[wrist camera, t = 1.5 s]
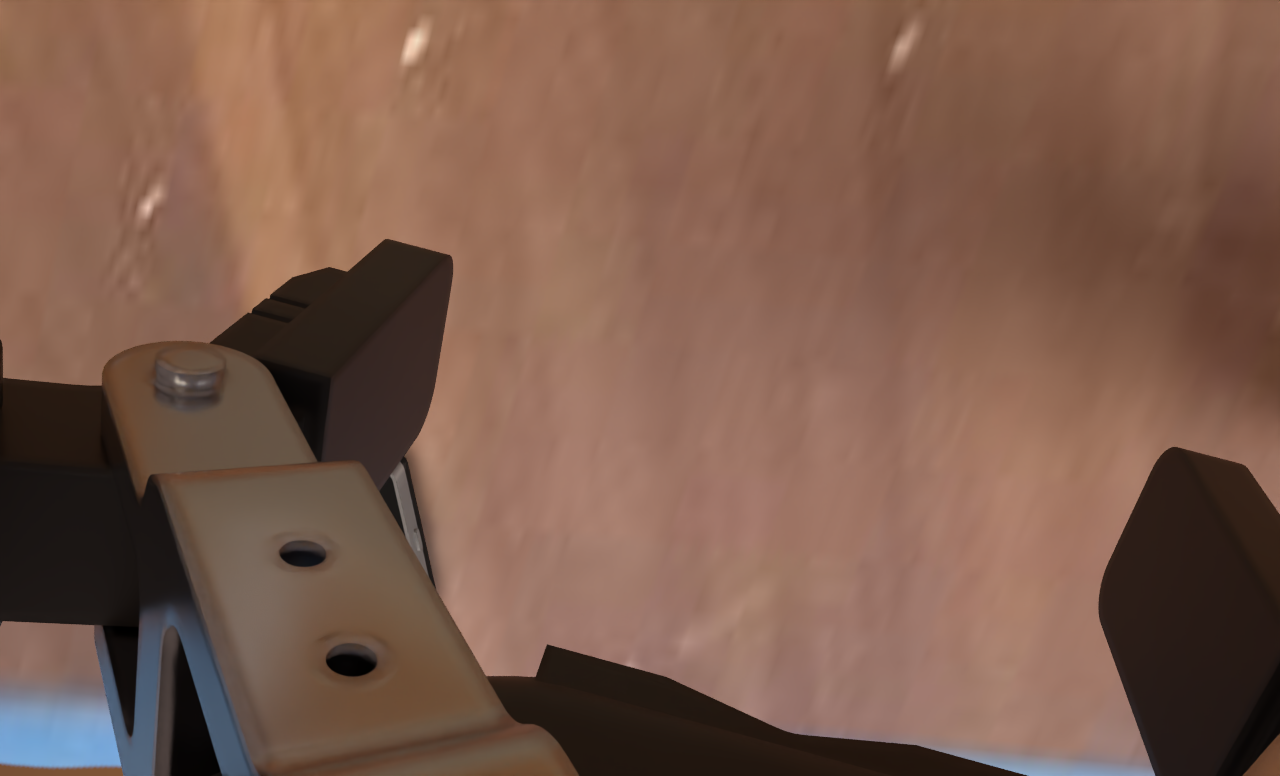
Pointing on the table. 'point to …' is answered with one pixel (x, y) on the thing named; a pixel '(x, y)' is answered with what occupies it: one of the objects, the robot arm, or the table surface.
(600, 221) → the table surface
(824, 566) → the table surface
